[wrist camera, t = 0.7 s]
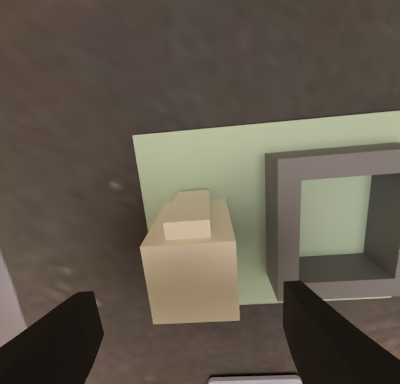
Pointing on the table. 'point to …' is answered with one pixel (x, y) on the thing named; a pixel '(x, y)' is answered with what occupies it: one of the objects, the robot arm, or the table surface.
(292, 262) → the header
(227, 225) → the plug
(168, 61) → the table surface
